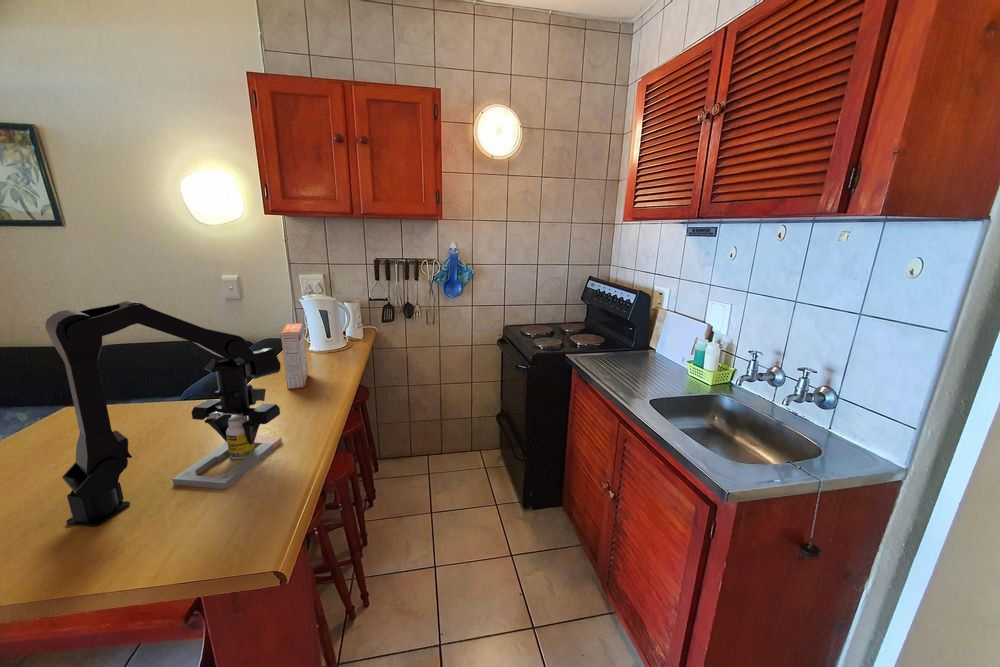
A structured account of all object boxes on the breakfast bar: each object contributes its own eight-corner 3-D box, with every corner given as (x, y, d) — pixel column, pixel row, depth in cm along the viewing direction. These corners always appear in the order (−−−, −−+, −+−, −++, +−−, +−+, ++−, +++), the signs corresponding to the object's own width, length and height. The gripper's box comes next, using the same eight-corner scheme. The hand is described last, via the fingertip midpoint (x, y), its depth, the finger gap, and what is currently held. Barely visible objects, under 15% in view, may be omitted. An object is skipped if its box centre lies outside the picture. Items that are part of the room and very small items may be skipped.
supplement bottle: (226, 461, 95) (220, 424, 93) (234, 449, 100) (228, 414, 98) (251, 458, 97) (246, 422, 94) (258, 447, 102) (253, 412, 99)
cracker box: (291, 376, 151) (286, 323, 146) (308, 374, 153) (304, 322, 148) (285, 389, 138) (279, 332, 133) (304, 388, 140) (299, 331, 135)
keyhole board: (225, 489, 85) (224, 483, 85) (173, 484, 86) (172, 478, 86) (282, 442, 105) (281, 437, 104) (239, 439, 105) (238, 433, 105)
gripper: (290, 375, 101) (295, 430, 105) (221, 370, 102) (229, 425, 106) (261, 391, 90) (268, 452, 94) (185, 386, 91) (195, 446, 95)
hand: (240, 443), depth 98 cm, fingers closed on supplement bottle, 5 cm apart
